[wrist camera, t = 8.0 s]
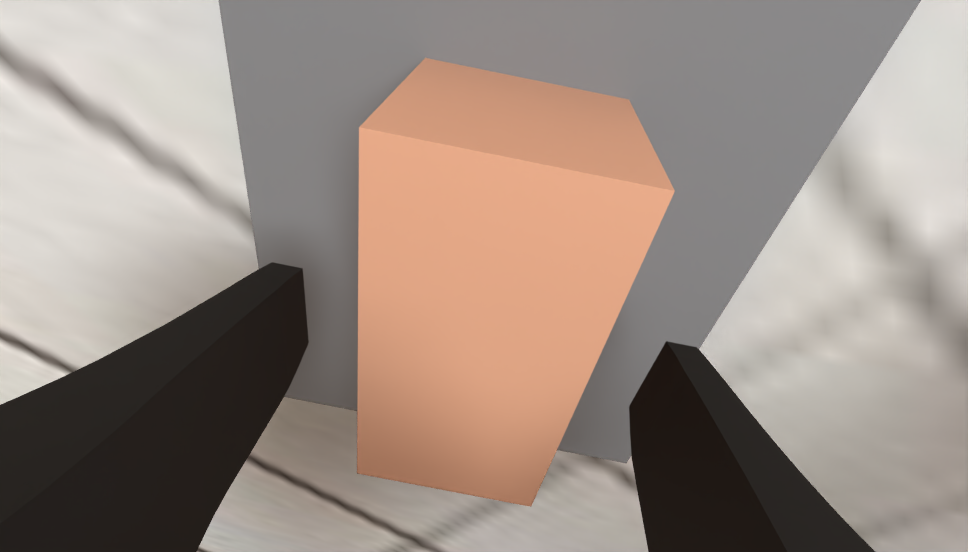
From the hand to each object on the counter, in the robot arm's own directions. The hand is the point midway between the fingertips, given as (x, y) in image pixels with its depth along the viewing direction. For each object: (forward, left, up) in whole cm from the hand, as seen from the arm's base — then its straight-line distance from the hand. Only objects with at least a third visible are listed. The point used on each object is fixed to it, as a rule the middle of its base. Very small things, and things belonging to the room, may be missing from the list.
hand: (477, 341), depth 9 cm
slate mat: (0, 0, -4) cm, 4 cm away
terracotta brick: (0, 0, -3) cm, 3 cm away
